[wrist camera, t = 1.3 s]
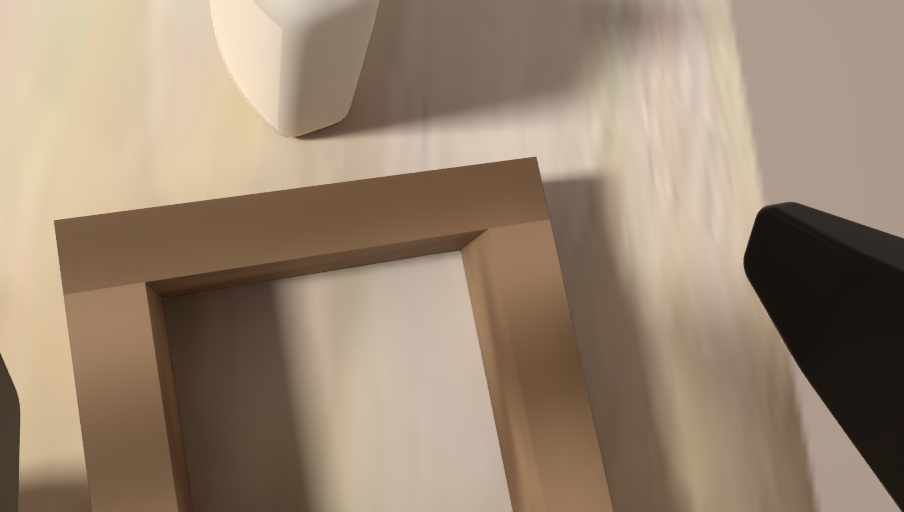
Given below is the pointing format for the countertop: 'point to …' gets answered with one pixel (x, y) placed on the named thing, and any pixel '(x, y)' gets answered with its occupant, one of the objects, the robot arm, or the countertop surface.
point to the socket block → (312, 251)
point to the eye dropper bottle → (295, 57)
